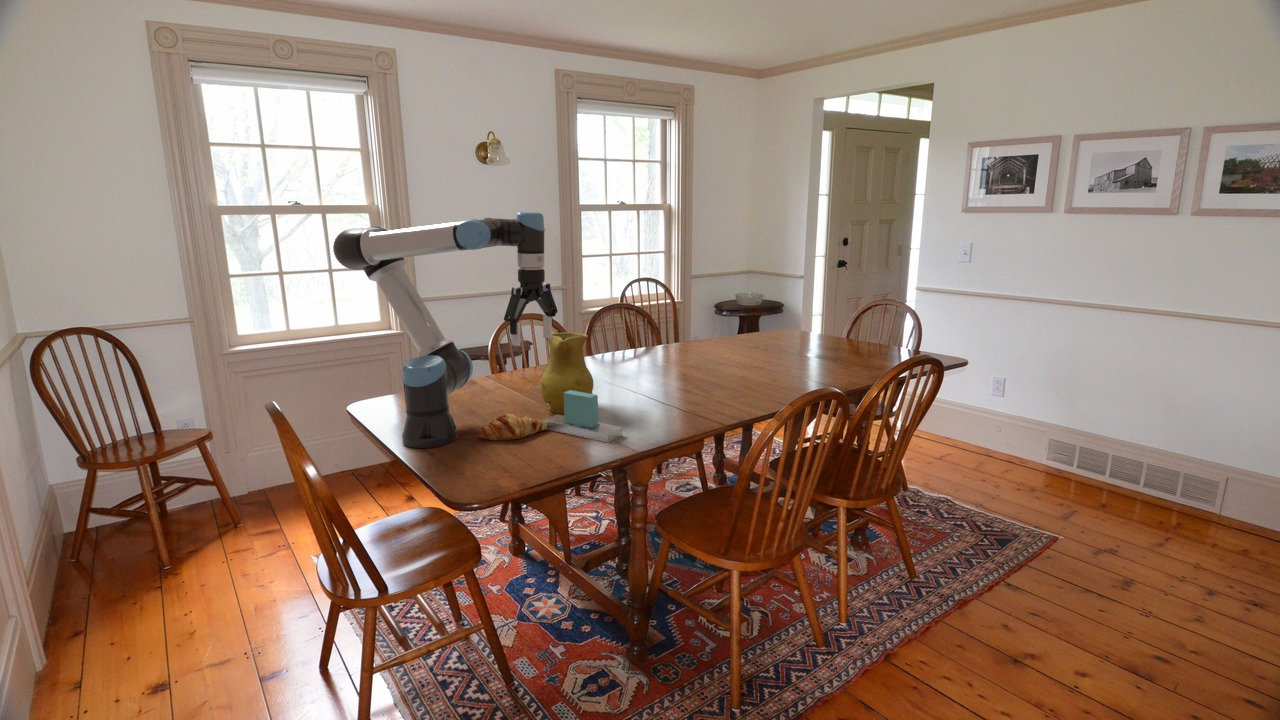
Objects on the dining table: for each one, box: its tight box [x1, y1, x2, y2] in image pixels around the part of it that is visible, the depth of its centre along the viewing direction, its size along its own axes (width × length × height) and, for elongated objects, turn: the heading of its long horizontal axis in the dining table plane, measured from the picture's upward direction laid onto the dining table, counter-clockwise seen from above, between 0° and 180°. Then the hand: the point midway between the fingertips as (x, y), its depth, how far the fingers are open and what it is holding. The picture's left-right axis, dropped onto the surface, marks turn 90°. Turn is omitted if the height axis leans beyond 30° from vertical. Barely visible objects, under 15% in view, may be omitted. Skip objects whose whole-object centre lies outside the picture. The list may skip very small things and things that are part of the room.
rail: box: [541, 413, 623, 444], centre depth 191 cm, size 7×24×2 cm, turn 58°
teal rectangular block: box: [563, 390, 599, 429], centre depth 190 cm, size 3×10×12 cm, turn 57°
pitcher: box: [540, 331, 594, 415], centre depth 212 cm, size 17×19×25 cm
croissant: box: [474, 413, 547, 441], centre depth 189 cm, size 21×10×8 cm, turn 115°
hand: (532, 341), depth 189 cm, fingers open, 13 cm apart
